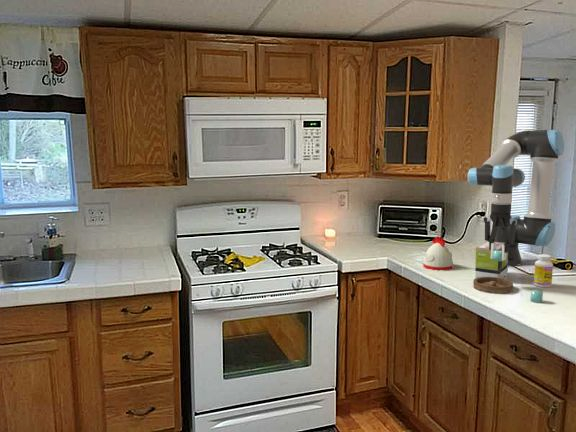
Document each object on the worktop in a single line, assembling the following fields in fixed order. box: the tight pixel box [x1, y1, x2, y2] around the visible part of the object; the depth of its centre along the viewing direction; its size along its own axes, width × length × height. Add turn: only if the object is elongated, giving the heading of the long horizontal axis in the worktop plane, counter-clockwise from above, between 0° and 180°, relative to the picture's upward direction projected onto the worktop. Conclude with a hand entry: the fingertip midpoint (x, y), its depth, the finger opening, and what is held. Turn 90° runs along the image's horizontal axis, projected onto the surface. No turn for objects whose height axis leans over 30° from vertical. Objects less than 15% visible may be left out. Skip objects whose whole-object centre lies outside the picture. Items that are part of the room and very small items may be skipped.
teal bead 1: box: [493, 250, 502, 261], centre depth 202 cm, size 4×4×4 cm
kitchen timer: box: [422, 235, 454, 271], centre depth 235 cm, size 14×14×15 cm
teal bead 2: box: [530, 289, 544, 304], centre depth 185 cm, size 4×4×4 cm
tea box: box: [474, 241, 509, 279], centre depth 217 cm, size 15×10×15 cm, turn 141°
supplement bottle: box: [533, 253, 554, 288], centre depth 203 cm, size 7×7×13 cm
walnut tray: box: [473, 277, 514, 295], centre depth 202 cm, size 15×15×3 cm
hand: (498, 258), depth 203 cm, fingers closed on teal bead 1, 4 cm apart
